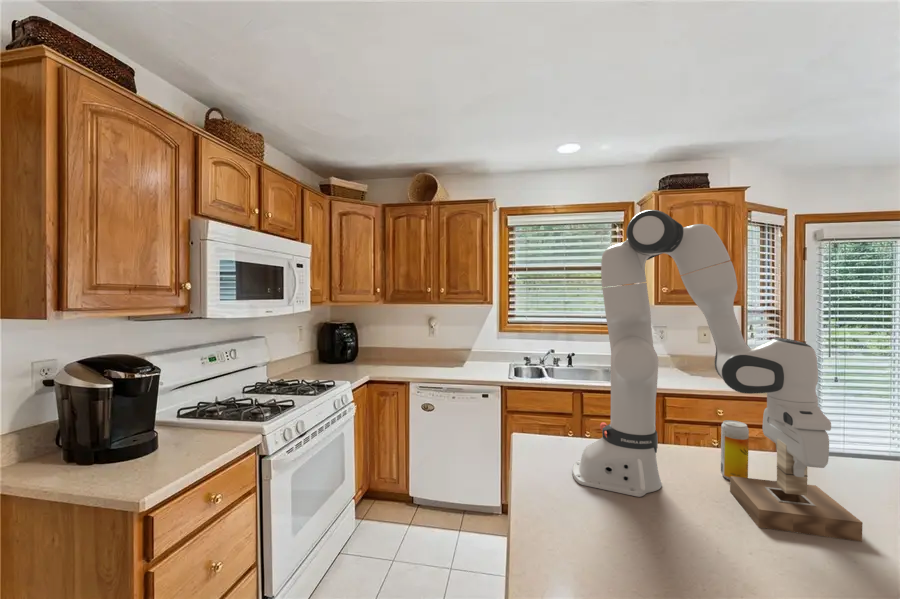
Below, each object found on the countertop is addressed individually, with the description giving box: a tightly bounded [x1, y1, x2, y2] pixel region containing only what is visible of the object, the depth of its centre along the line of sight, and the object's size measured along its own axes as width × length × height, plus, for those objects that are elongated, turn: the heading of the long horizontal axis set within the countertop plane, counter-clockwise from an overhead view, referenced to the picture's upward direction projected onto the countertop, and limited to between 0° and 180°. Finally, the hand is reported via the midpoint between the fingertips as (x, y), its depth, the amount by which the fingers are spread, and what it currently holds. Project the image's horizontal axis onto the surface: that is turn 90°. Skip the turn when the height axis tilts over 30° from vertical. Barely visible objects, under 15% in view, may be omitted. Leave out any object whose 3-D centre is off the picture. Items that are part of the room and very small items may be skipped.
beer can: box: [720, 419, 750, 481], centre depth 110 cm, size 6×6×15 cm
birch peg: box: [776, 439, 808, 496], centre depth 92 cm, size 4×4×11 cm
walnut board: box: [729, 476, 863, 543], centre depth 92 cm, size 18×16×4 cm
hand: (791, 470), depth 92 cm, fingers closed on birch peg, 4 cm apart
